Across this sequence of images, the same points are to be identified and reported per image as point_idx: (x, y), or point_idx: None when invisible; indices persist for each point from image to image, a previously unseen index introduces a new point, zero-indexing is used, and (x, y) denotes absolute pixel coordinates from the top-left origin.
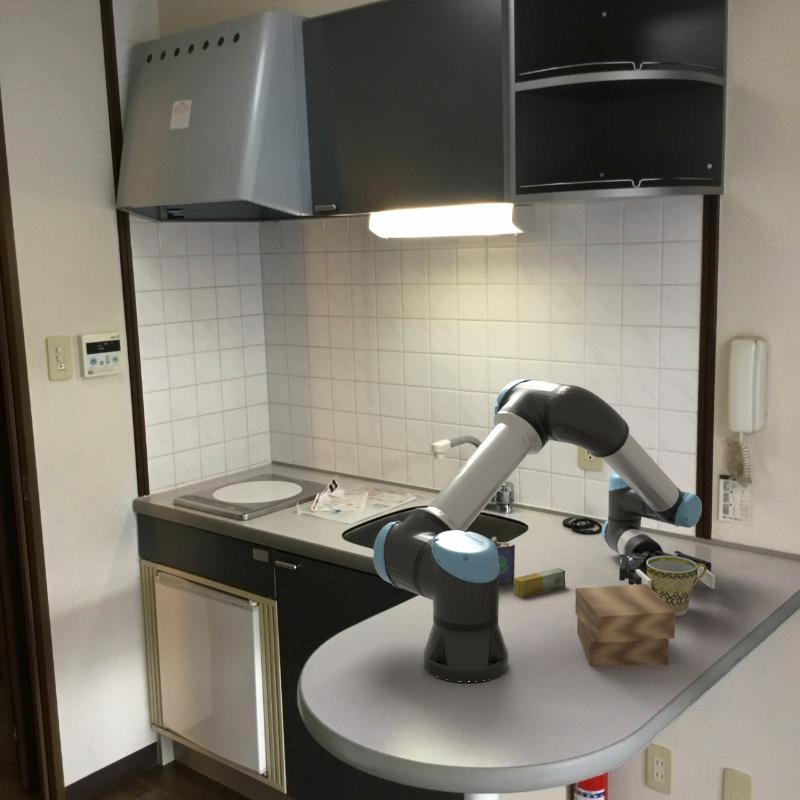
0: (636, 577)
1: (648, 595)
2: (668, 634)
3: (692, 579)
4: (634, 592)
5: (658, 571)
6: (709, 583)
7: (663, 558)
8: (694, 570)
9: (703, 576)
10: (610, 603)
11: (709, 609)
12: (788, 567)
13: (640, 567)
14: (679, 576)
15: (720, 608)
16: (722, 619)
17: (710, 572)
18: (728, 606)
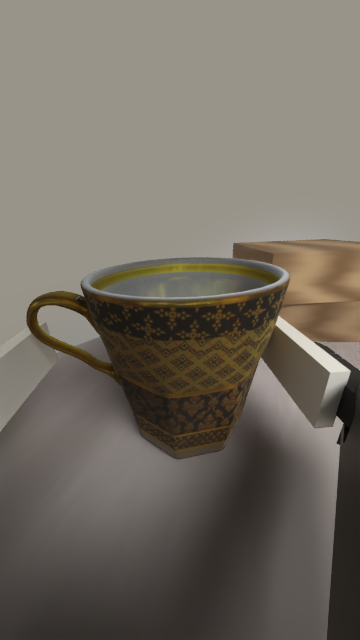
0: (319, 344)
1: (267, 247)
2: None
3: (142, 292)
4: (293, 247)
5: (241, 264)
6: (47, 357)
7: (186, 312)
8: (134, 266)
9: (15, 380)
10: (323, 242)
11: (76, 412)
12: None
13: (351, 499)
14: (185, 270)
15: (41, 416)
16: (95, 369)
17: (13, 337)
18: (4, 426)
